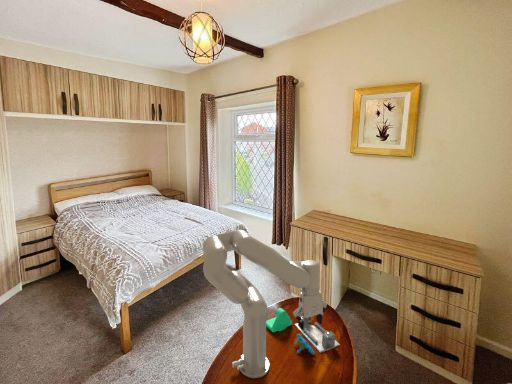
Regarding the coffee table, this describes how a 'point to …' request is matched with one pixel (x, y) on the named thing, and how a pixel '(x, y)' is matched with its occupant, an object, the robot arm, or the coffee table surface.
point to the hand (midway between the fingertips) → (310, 325)
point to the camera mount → (279, 321)
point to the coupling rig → (318, 336)
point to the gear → (303, 344)
